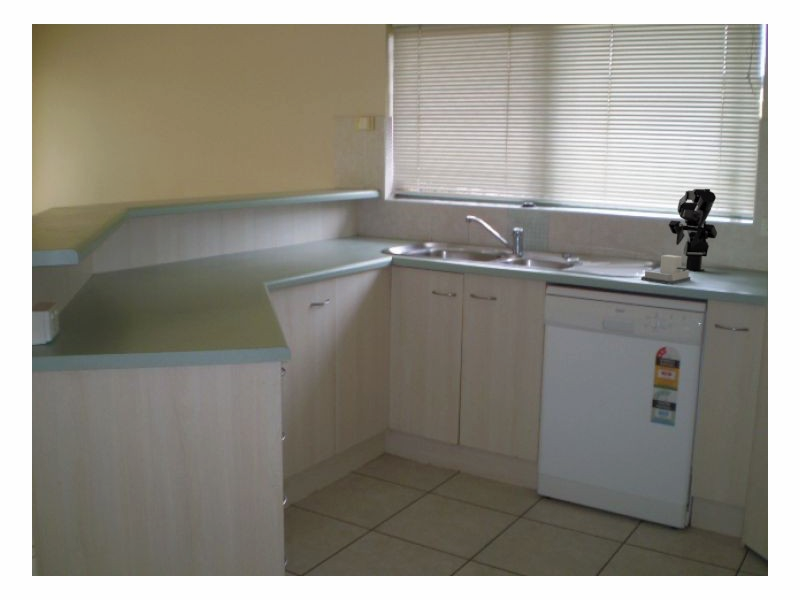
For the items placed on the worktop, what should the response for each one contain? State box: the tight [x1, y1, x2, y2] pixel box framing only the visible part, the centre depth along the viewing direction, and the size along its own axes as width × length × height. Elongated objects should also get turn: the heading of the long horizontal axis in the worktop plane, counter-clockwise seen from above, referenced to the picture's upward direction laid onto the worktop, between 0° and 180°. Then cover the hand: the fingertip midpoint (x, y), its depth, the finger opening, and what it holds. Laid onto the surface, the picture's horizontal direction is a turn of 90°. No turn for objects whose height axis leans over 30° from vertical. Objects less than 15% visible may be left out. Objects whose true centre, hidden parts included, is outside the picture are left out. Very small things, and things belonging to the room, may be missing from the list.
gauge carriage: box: [659, 254, 686, 274], centre depth 349 cm, size 5×9×8 cm, turn 45°
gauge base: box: [640, 270, 691, 285], centre depth 349 cm, size 14×13×4 cm
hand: (684, 245), depth 355 cm, fingers open, 6 cm apart
